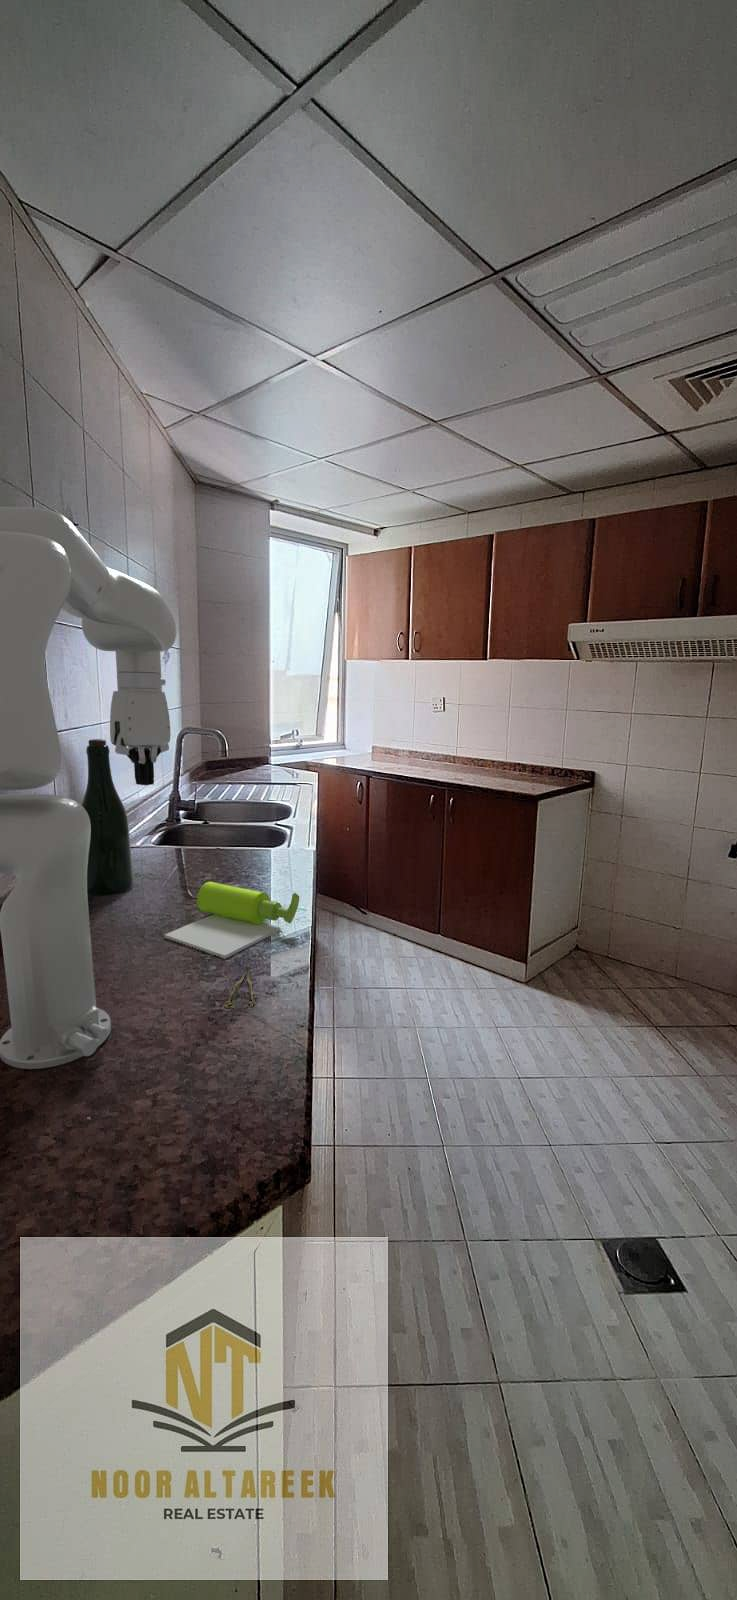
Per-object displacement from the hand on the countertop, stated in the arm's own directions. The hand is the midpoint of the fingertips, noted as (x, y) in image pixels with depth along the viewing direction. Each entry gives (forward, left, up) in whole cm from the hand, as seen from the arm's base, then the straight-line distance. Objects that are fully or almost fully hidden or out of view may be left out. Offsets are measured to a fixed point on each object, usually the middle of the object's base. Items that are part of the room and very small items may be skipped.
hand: (144, 784), depth 110 cm
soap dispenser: (-7, -8, -22) cm, 25 cm away
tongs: (-33, +10, -27) cm, 44 cm away
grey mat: (-17, -2, -26) cm, 31 cm away
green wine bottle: (+22, -5, -27) cm, 35 cm away
